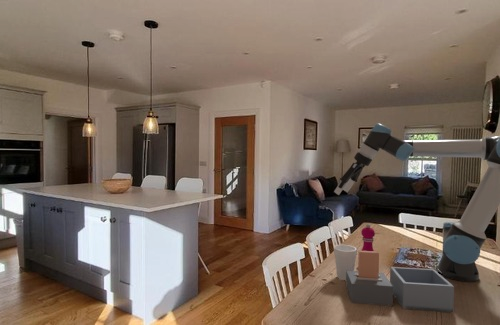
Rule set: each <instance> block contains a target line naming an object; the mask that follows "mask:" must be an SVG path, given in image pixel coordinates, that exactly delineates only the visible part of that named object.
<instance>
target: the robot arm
mask: <svg viewBox="0 0 500 325" xmlns="http://www.w3.org/2000/svg"><path fill="white" fill-rule="evenodd" d="M391 133H392V130H391V128H389V127H388V126H385V125H384V124H381V123H379V122H378V123H376V124H374V126H373V127H372V128H371V130H370V132H369V133H368V135H367V136H366V138H365V140H364V141H363V143H362V144H360V147H359V150H358V151H357V152H356V153H355V155H354V156H353V159H354V160H355V161H356V162H353V163H352V164H351V166H350V167H349V168H348V169H347V171H346V172H345V173H344V174H343V175H342V177H340V178H339V181H340V182H339V184H337V186H336V188H335V189H334V191H333V193H335V194H336V195H338V196H340V195H341V193H342V191H344V192H346V193H349V191H350V189H352V187H353V186H354V184H355V183H357V182H358V180H359V177H360V176H361V174H362V171H363V169H364V168H365V166H366V167H368V166H369V165H370V164H371V163H372V161H373V159H374V158H375V157H376V156H377V155H378V152H379V151H380V150H382V151H385V152H386V153H387V154H390V155H391V156H393V157H395V158H396V159H398V160H400V161H402V162H406V161H408V159H409V158H411V157H419V158H420V157H424V158H425V157H427V158H429V157H430V158H432V157H433V158H435V157H436V158H443V157H444V158H480V159H481V160H482V161H486V163H487V166H488V168H487V169H486V171H485V172H484V175H483V177H482V178H481V181H480V182H479V184H478V186H477V187H476V189H475V191H474V193H473V195H472V197H471V199H470V200H469V203H468V204H467V206H466V207H465V210H464V211H463V214H462V215H461V218H460V220H458V221H454V222H451V221H450V222H449V221H446V222H444V223H443V227H442V255H441V258H440V259H439V262H438V263H437V264H438V265H437V270H438V269H439V270H440V271H441V272H442V274H443V275H442V277H444V278H448V279H451V280H454V281H459V282H467V283H470V282H471V283H473V282H478V281H479V279H480V273H479V270H478V267H477V264H476V261H478V260H479V258H480V255H481V248H482V246H483V245H484V243H485V241H486V239H487V236H486V234H485V231H486V229H487V228H488V226H489V224H490V223H491V220H492V219H493V217H494V216H495V214H496V211H498V208H499V207H500V135H497V136H484V137H481V139H437V140H436V139H434V140H433V139H430V140H429V139H428V140H427V139H426V140H425V139H424V140H423V139H421V140H418V139H417V140H402V139H400V138H397V137H396V136H394V135H392V134H391Z"/></svg>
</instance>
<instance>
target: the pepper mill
mask: <svg viewBox="0 0 500 325" xmlns="http://www.w3.org/2000/svg"><path fill="white" fill-rule="evenodd" d="M360 233H361V235H362V241H363V246H362V248H361V250H360V251H375V250H374V248H373V242H374V239H375V238H374V237H375V235H376V231H375V229H374V228H372V227H371V225H370V224H366V225H365V227H363V228H362V229H361V232H360Z"/></svg>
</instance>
